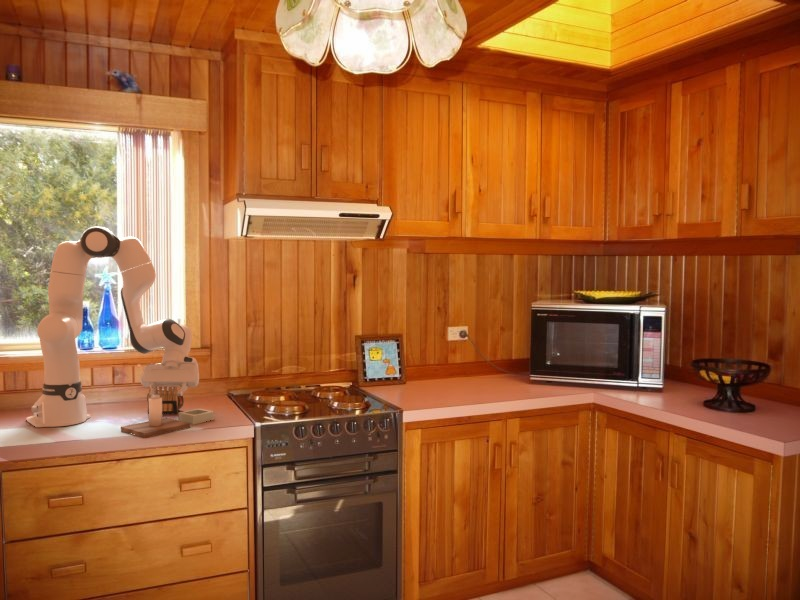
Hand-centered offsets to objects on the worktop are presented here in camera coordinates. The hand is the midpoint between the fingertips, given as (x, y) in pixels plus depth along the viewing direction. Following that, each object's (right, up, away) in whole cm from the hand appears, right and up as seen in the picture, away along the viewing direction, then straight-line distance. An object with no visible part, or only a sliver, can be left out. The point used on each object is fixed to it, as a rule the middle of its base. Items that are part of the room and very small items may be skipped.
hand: (166, 395), depth 230 cm
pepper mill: (+1, -8, -12) cm, 15 cm away
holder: (+11, -9, +1) cm, 14 cm away
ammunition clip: (-5, -9, +12) cm, 16 cm away
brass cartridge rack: (-7, -9, +18) cm, 21 cm away
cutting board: (+1, -10, -12) cm, 15 cm away
